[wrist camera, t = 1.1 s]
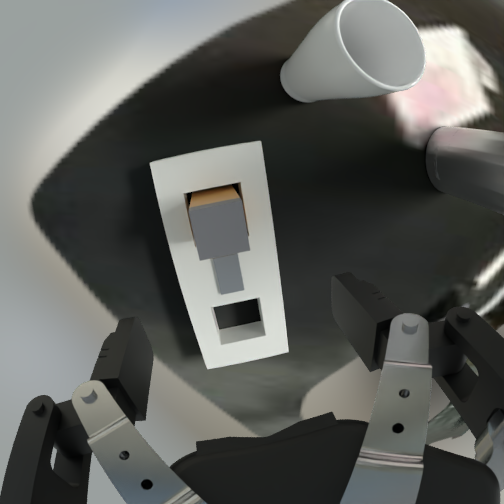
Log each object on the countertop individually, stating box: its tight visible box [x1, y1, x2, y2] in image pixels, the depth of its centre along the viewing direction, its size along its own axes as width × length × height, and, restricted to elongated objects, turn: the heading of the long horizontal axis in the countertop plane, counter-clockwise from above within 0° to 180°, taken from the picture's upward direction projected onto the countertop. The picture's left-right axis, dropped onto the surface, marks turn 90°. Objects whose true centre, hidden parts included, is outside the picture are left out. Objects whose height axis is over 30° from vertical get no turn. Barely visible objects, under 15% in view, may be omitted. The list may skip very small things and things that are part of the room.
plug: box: [188, 185, 250, 261], centre depth 26 cm, size 4×4×8 cm
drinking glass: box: [280, 0, 426, 103], centre depth 19 cm, size 7×7×15 cm
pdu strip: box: [150, 141, 289, 369], centre depth 30 cm, size 10×24×3 cm, turn 9°
